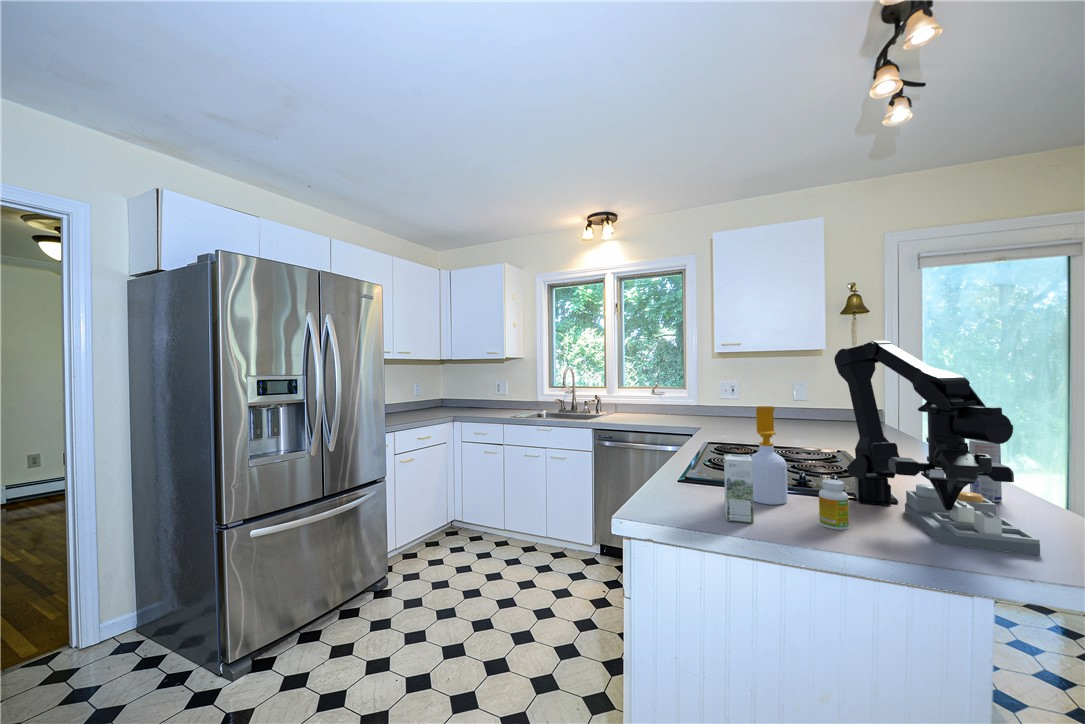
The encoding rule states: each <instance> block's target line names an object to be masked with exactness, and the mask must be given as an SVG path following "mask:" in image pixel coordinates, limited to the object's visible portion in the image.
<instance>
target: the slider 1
mask: <svg viewBox="0 0 1085 724" xmlns="http://www.w3.org/2000/svg"><path fill="white" fill-rule="evenodd" d="M950 518H951V519H953V520H954V521H958V522H968V523H974V508H973V507H971V506H970V505H968V504H967V503H965V502H961V501H959V500H956V502H955V504H954V506H953V508H952V510H951V511H950Z"/></svg>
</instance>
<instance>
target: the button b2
mask: <svg viewBox="0 0 1085 724" xmlns="http://www.w3.org/2000/svg"><path fill="white" fill-rule="evenodd" d="M957 500H959V501H966V502H979V503H983V496H982V495H980V494H977V493H972V492H970V491H964V490H962V491H961V492H960V494H959V496H958V498H957Z"/></svg>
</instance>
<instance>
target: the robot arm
mask: <svg viewBox="0 0 1085 724" xmlns="http://www.w3.org/2000/svg"><path fill="white" fill-rule="evenodd" d="M833 360H834V364H835V367H836V369H837V372H838V374H839V375H840V377H841V378H842V379H843V380H844V381H845V382H846V383H847V386H848V390H849V393H850V400H851V404H852V408H853V412H854V413H853V414H854V418H855V422H856V427H857V432H858V435H859V438H858V441H857V443H856V445H855V447H854V453H855V458H854V459H853V460H852V461H851V462H850V463H849V464H848V465H847V466H846V469H847V473H848V475H849V476H851V477H854V482H855V483H854V486H855V487H854V488H855V489H854V490H855V491H854V494H855V495H856V498H855V499H856V501H857V502H858V503H860V504H868V505H880V506H892V503H891V502H892V486H891V484H890V483H889V479H895V477H896V475H898V476H909V477H916V476H917V475H918V474H921V476H922V477H924V478H925V479H927V480H928V481H929V482H930V483H931V485H933V487H934V488H935V490H936V492H937V494H938V496H939V498H940V500H941V502H942V504H943V506H944V508H945V510H949V511H951V510H952V508H953V506H954V504H955V502H956V500H957V498H958V496H959V494H960V492H961V491H963V489H964V488H965V487H966V486H968V485H970V484H974V483H975V481H974V480H977V479H978V475H985V476H988V477H989V478H990V479H992V480H993V481H999V482H1001V483H1014V482H1015V475H1014V472H1013V469H1012V468H1010V466H1006V465H1004V464H1002V463H1001V464H1000V463H997V462H992V461H991V457H990V456H989V455H988V454H975V455H974V454H970V452H969V442H966V440H969V439H971V440H977V441H983V442H989V443H995V444H1000V445H1002V444H1005V443H1007V442H1008V441H1009V440H1010V439H1011V437H1012V436H1013V433H1014V425H1013V424H1012V423H1011V422H1012V421H1011V420H1010V419H1009V418H1008V416H1006V415H1005V414H1003V408H1002V407H1000V406H986V405H985V403H984V402H983V401H982V399H981V398H980V397H979V396H978V394H977V393H976V392H975V390H974V389H973V388H972V386H971V385H970V384H971V382H970V381H969V379H968V378H966V377H965V376H963V375H960V374H957V373H954V372H951V371H949V370H946V369H945V370H944V369H939V368H935V367H932V366H930V365H928V364H926V363H925V362H924V361H921V360H919V359H918V358H916V357H914V356H913V355H911V354H910V353H907V352H906V351H904V350H902V349H901V348H899V347H897V346H895V345H894V343H892V341H888V340H871V341H869V342H866V343H865V344H862V345H861V344H860V345H857V346H853V347H850V348H848V347H847V348H841V349H839V350H838V351H837V353H836V354H835V355H834V359H833ZM877 363H878V364H879V363H881V364H883V365H884V366H885V367H886V368H887V367H888V368H889V369H890V370H892V371H893V372H895V373H897V374H898V375H900V376H901V377H903V378H904V379H906V380H907V381H909V382H910V383H911V384H912V387H913V390H914V392H916V393H917V394H918V395H919V396H920V397H921V398H922V399H923V400H924V401H925V403H924V404H923V405H920V407H918V408H917V411H918V412H922V413H927V437H926V443H928V444H927V445H928V446H927V449H928V450H927V451H928V455H927V456H926V462H918V461H917V460H915V459H914V458H911V457H903V456H902V457H901V456H900V454H899V452H898V444H897V443H896V442H890V441H889V440H888V439H887V438H886V436H885V435H884V431H883V427H882V423H881V418H880V414H879V409H878V405H877V402H876V401H877V400H876V397H875V393H874V388H873V383H872V378H873V377H874V374H875V372H876V364H877Z"/></svg>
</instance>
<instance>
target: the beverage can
mask: <svg viewBox="0 0 1085 724" xmlns="http://www.w3.org/2000/svg"><path fill="white" fill-rule="evenodd" d="M968 441H969V442H968V450H969V452H970V454H974V455H975V454H988V455H989V456H990V457H991V461H992V462H997V463H1000V464H1002V458H1001V457H1002V454H1001V450H1002V449H1001V444H995V443H989V442H983V441H977V440H971V439H968ZM974 481H975V483H974V484H969V492H972V493H977V494H980V495H982V496H983V498H985V499H987V500H989V501H991V502H993V503H994V504H996V503H1000V502H1002V501H1003V497H1002V495H1003V494H1002V493H1003V492H1002V489H1003V488H1002V482H999V481H993V480H992V479H990V478H989V477H988V476H985V475H978V479H977V480H974Z"/></svg>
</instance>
